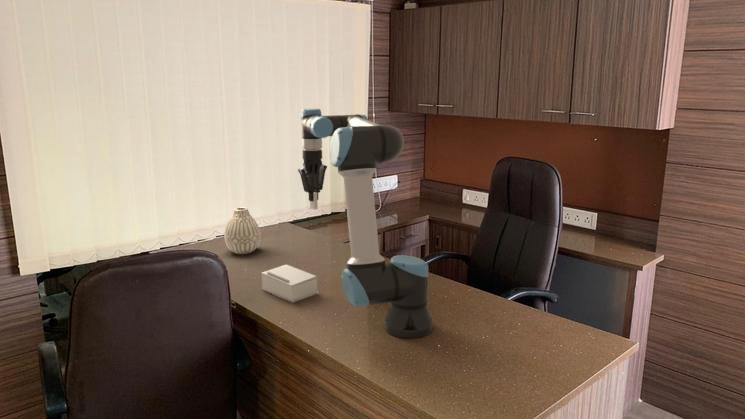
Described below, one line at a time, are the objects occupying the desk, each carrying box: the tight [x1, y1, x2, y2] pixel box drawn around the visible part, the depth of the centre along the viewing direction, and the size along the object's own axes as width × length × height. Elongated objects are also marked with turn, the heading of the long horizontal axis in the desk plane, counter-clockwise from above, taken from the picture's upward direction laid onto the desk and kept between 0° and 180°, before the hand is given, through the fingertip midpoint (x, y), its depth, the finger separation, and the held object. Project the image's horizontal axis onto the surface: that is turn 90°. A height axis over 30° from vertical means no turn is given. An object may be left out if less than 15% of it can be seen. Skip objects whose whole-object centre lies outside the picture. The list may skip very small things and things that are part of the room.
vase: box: [223, 206, 262, 255], centre depth 250 cm, size 16×16×20 cm
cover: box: [260, 264, 318, 287], centre depth 206 cm, size 18×12×1 cm, turn 46°
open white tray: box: [261, 274, 319, 304], centre depth 207 cm, size 18×12×6 cm, turn 46°
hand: (313, 208), depth 221 cm, fingers closed
